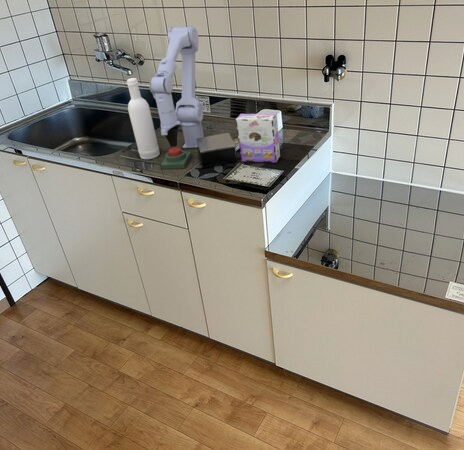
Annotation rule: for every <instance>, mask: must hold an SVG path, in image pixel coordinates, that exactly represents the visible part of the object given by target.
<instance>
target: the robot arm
mask: <svg viewBox="0 0 464 450" xmlns="http://www.w3.org/2000/svg"><path fill="white" fill-rule="evenodd" d="M167 41H168V46H167V50H166V53H165V58H162V59H161V60H160V62H159V64H158V67H157V70H156V72H155V76H152V77H151V78H150V80H149V90H150V93H151V94H152V97H153V99H154V100H155V103H156V107H157V113H158V116H159V121H160V135H161V136H164V137H165V138H166V140H167V142H168V144H169V146H170V147H172V148H177V145H178V133H179V129H180V126H181V130H182V134H183V139H184V144H183V145H182V149H195V148H196V149H198V146H197V141H196V138H202V137H205V134H204V128H203V124H202V121H203V119H204V111H203V105H202V104H203V103H202V102H201V101H199V100H198V99H197V98H196V53H197V52H198V51H199V33H198V31H197V29H196V27H195V26H194V25H193V26H180V27H179V26H178V27H173V26H171V27H170V28H169V29H168V31H167ZM179 55H181V98H180V99H179V100H177V102H176V106H175V105H174V99H173V95H172V92H173V90H174V79H173V78H174V77H175V76H174V75H175V73H176V69H177V64H176V61H177V58H178V57H179Z"/></svg>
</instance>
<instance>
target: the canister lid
mask: <svg viewBox="0 0 464 450" xmlns="http://www.w3.org/2000/svg"><path fill="white" fill-rule="evenodd" d="M196 140H197V143H198V147H199V150H200V153H206V152H211V151H216V150H222V149H227V148H233V147H235V148H236V143H235V142H234V140H233V138H232V136H231V133H230V132H225V133H219V134H213V135H208V136H204V137H202V138H196Z"/></svg>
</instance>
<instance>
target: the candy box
mask: <svg viewBox="0 0 464 450" xmlns="http://www.w3.org/2000/svg"><path fill="white" fill-rule="evenodd" d="M235 126H236V134H237V140H238V146H239V148H238V149H239V155H240V156H239V157H240V161H241V162H248V163H249V162H250V163H272V164H273V163H275V164H277V162H278V161H279V159H280V158H281V150H280V149H281V147H280V136H279V124H278V114H277V113H240V114H239V115H238V116H237V117H236V118H235Z"/></svg>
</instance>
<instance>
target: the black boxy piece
mask: <svg viewBox="0 0 464 450" xmlns="http://www.w3.org/2000/svg"><path fill="white" fill-rule="evenodd" d="M196 141H197V140H196ZM197 146H198V143H197ZM197 151H198V156H199V160H200V163H201V166H202V169H203V170H204V169H209V168H214V167H219V166H220V167H221V166H224V165H229V164H235V163H238V159H237V151H236V146H235V147H233V148H227V149H222V150H216V151H211V152H206V153H200V150H199V147H198V148H197Z"/></svg>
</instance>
